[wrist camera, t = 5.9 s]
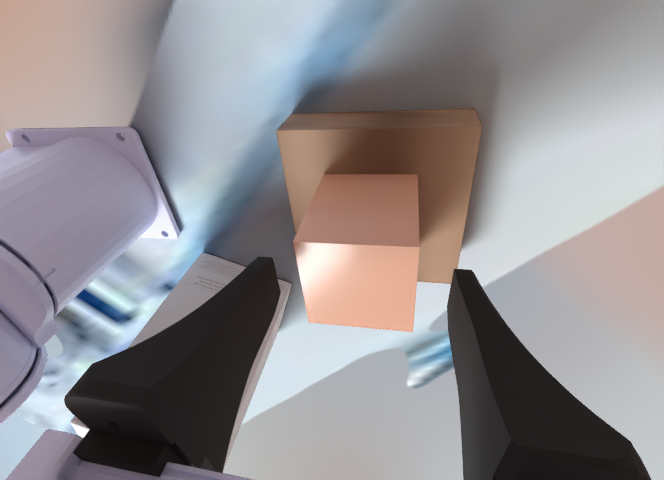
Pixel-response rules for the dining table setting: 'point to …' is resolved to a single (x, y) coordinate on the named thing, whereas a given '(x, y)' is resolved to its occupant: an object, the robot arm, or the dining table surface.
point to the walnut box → (392, 167)
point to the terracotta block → (361, 251)
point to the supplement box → (190, 295)
